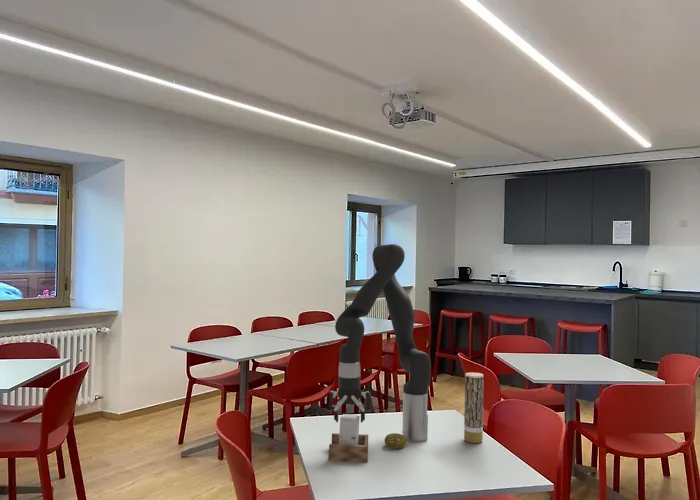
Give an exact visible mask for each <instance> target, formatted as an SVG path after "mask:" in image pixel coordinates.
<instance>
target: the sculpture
mask: <svg viewBox="0 0 700 500" xmlns="http://www.w3.org/2000/svg"><path fill="white" fill-rule="evenodd" d="M383 441H384V444H385V445H386V446H387V448H389V449H393V450H399V449H403V448H405V446H406V445H407V440H406V438H405V437H404V436H403V435H402V434H401V433H394V432H393V433H388V434H386V436H385V437H384V440H383Z"/></svg>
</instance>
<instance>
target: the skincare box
mask: <svg viewBox="0 0 700 500" xmlns="http://www.w3.org/2000/svg"><path fill="white" fill-rule="evenodd" d="M339 419H340V420H339V434H340V435H339V444H342V445H358V437H359V434H360V433H359V432H360V415H356V414H355V415H354V414H346V413H343V414H341V416H340V418H339Z"/></svg>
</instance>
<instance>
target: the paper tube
mask: <svg viewBox="0 0 700 500" xmlns="http://www.w3.org/2000/svg"><path fill="white" fill-rule="evenodd" d="M484 380H485V379H484V374H483V373H480V372H466V373H465V374H464V418H463V421H464V422H463V423H464V424H463V426H464V428H463V432H464V433H463V439H464V441H465V442H467V443H470V444H480V443H483V439H484V437H483V436H484V435H483V433H484V430H483V429H484V422H483V421H484V387H485V386H484V384H485V383H484Z"/></svg>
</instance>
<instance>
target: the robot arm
mask: <svg viewBox="0 0 700 500" xmlns="http://www.w3.org/2000/svg"><path fill="white" fill-rule="evenodd" d="M405 254H406V253H405V250H404V248H403V247H402V246H401V245H400V244H396V243H390V244H389V243H388V244H381V245H380V244H379V245H378V246H376V247H374V248H373V250H372V254H371V255H372V263H373V266H374V268H375V271H376V272H375V273H374V275H373V276H372V277H370V278H369V279H368V280H367V281H366V282H365V283H364V284H363V285H362V286H361V287H360V289H359V290H358V292H356V295H355V296H354V298H353V300H352V302H351V303H350V304H349V306H347V308H345V310H344V311H343V312H341V314H339V316H338V317H337V319H336V321H335V325H334V328H335V332H336V333H337V334H338V336H341V337H345V338H347V341H346V343H343V344H341V345H340V346H339V353H338V354H339V355H338V356H339V357H338V358H339V361H338V362H339V363H338V390H337V391H335V390H330V391H329V396H328V397H329V398H328V410H332V411H333V420H334V421H335V423H339V409H340V407H342V405H345V406H346V405H347V406H348V405H351V406H354V405H356V406H357V407H358V408H359V409H360V423H363V422H364V421H365V420H366V411H369V410H370V409H371V401H370V398H371V397H370V391H369V390H365V391H362V390H361V363H360V362H361V361H360V360H361V359H360V356H361V355H360V354H361V353H360V352H361V346H362V342H363V338H364V335H365V325H364V322H363V320H362V319H361V318H364V317H366V316H368V315H369V313H371V310H372V309H373V307H374V305H375V303H376V301H377V299H378V297H380V294H381V293H382V291H383V294H384V295H383V296H384V298H385V302H386V306H387V311H388V314H389V318H390V321H391V324H392V329H393V332H394V335H395V341H396V345H397V352H398V360H399V362H400V364H399V365H400V366H401V368H402V369H403V371H405V372H406V373H409V380H408V382H405V383H404V384H403V388H402V391H403V393H402V434H401V435H403V436H404V437H405V438H406V441H410V442H424V441H428V434H429V433H428V425H429V415H428V391H429V387H430V385H431V375H432V374H431V372H432V371H431V370H432V362H431V357H430V356H429V354H428V353H427V352H424V351H422V350H418V349H417V345H416V344H415V343H416V342H415V339H414V334H413V332H414V325H415V312H414V308H413V304H412V300H411V298H410V296H409V295H408V293H407V292H406V290H405V289H404V288H403V286H402V285H401V283H400V282H399V281H398V279H397V278H396V273H397V272H398V270H399V269H400V268H401V267H402V265H403V263H404V262H405V258H406V257H405ZM336 396H337V397H338V399H339V400H338V401H337V403H336V404H335V405H334V399H335V398H336ZM362 396H363V399H365V401H366V402H365V404H366V405H365V404H363V402H362V401H361V400H360V399H361V397H362Z"/></svg>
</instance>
